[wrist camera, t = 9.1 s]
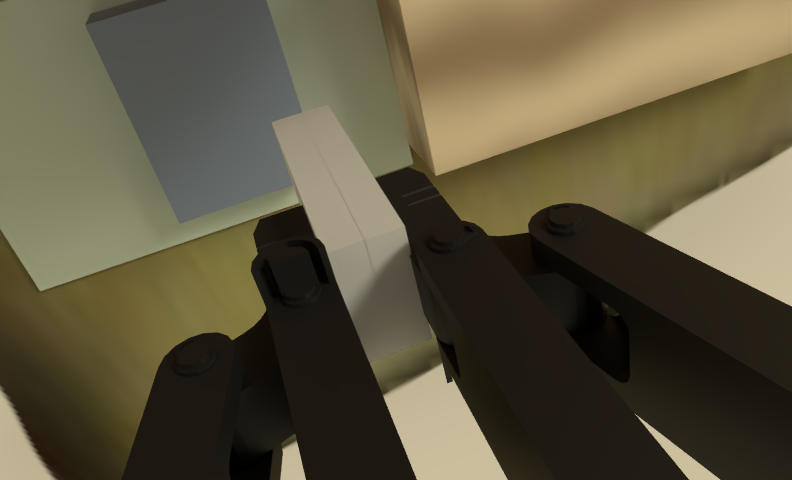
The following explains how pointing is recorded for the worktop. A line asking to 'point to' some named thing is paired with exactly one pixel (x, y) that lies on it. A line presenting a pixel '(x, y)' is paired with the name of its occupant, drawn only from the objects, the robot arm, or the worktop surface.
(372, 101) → the rubber mat
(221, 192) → the blue-grey flat block
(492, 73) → the tan block
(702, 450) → the robot arm
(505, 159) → the worktop surface
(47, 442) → the worktop surface
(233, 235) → the worktop surface
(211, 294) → the worktop surface
